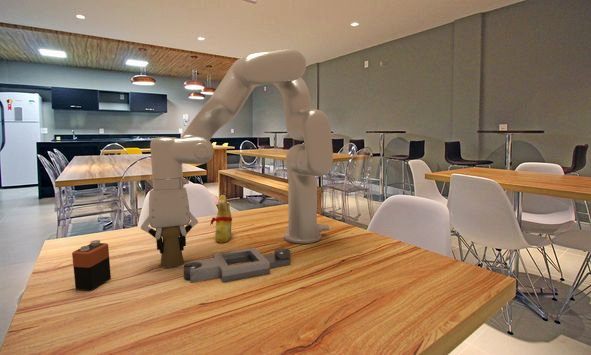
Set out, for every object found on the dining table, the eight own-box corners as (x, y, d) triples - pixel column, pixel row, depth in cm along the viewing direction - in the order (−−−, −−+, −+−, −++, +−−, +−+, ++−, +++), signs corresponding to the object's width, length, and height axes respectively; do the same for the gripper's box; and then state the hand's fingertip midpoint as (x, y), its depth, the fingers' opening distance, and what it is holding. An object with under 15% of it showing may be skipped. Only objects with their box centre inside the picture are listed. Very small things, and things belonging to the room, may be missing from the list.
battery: (112, 278, 82) (108, 239, 81) (91, 291, 76) (87, 249, 74) (95, 277, 83) (92, 238, 81) (74, 290, 76) (70, 248, 75)
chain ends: (281, 253, 99) (281, 243, 99) (298, 268, 88) (298, 257, 88) (181, 269, 87) (180, 258, 87) (187, 289, 77) (186, 276, 76)
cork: (176, 269, 88) (174, 228, 86) (155, 267, 89) (153, 227, 87) (188, 260, 93) (186, 222, 92) (168, 258, 95) (166, 221, 93)
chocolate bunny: (234, 233, 118) (233, 191, 116) (229, 243, 107) (227, 198, 105) (214, 233, 118) (213, 191, 116) (207, 244, 107) (206, 198, 105)
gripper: (198, 180, 95) (201, 242, 97) (132, 184, 88) (137, 250, 90) (203, 184, 88) (205, 250, 91) (132, 188, 81) (137, 260, 84)
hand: (171, 249), depth 91 cm, fingers closed on cork, 4 cm apart
